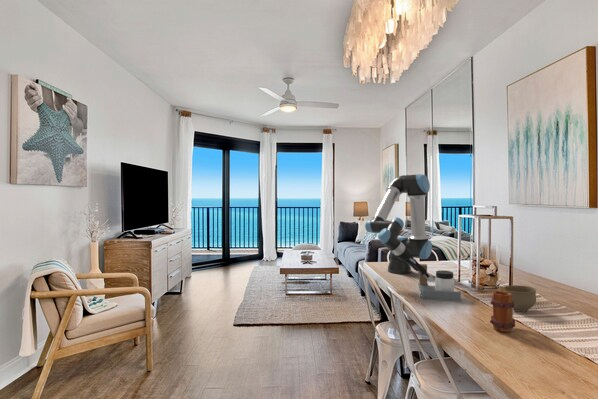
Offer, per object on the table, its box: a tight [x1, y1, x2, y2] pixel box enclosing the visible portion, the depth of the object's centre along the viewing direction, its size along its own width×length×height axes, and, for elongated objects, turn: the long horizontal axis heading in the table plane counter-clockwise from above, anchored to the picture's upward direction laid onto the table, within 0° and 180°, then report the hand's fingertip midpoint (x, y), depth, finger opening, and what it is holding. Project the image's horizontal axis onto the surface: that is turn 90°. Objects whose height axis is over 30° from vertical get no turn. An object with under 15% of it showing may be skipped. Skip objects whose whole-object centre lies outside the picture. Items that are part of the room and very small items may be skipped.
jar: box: [434, 269, 455, 291], centre depth 169 cm, size 9×8×12 cm
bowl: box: [504, 284, 537, 312], centre depth 147 cm, size 13×13×10 cm
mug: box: [489, 285, 516, 333], centre depth 128 cm, size 15×8×15 cm, turn 148°
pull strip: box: [417, 263, 462, 302], centre depth 175 cm, size 26×18×12 cm
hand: (429, 279), depth 188 cm, fingers closed on pull strip, 5 cm apart
